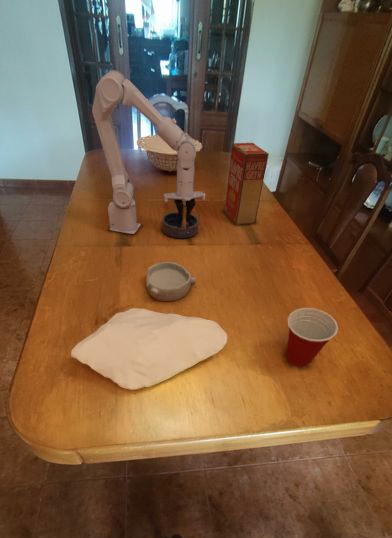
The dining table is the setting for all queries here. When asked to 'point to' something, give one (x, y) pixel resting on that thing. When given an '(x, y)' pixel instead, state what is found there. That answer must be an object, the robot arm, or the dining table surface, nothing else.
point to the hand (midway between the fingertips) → (183, 219)
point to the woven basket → (161, 151)
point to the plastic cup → (308, 334)
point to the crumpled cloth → (148, 346)
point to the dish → (168, 281)
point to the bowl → (179, 226)
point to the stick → (184, 217)
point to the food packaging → (245, 182)
